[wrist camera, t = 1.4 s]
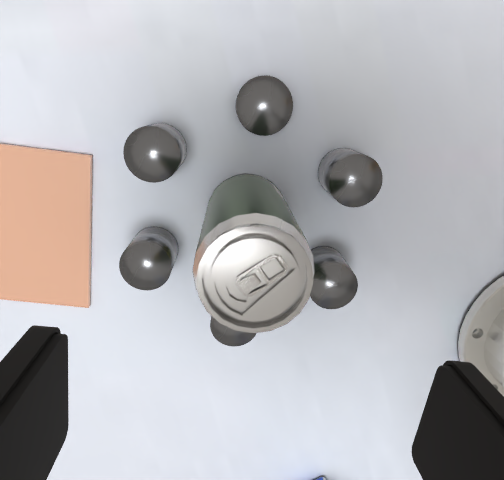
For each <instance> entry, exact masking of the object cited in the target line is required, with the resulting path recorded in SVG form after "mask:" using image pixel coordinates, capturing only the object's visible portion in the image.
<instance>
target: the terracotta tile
mask: <svg viewBox="0 0 504 480" xmlns="http://www.w3.org/2000/svg"><path fill="white" fill-rule="evenodd" d="M92 157H93V155H88V154H80V153H72V152H65V151H57V150H49V149H41V148H33V147H25V146H18V145H10V144H2V143H0V299H4V300H14V301H24V302H34V303H44V304H55V305H65V306H75V307H85V308H89V306H90V292H91V225H92Z"/></svg>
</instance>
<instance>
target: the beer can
mask: <svg viewBox="0 0 504 480" xmlns="http://www.w3.org/2000/svg"><path fill="white" fill-rule="evenodd" d="M193 275H194V281H195V286H196V290H197V291H198V294H199V298H200V300H201V301H202V303H203V305H204V307H205V309H206V310H207V312H208V313H209V314H210V315H211V316H213V317H214V318H215V319H216V320H217V321H218V322H219V323H220V324H223V325H225V326H227V327H229V328H231V329H233V330H236V331H242V332H249V333H258V332H266V331H271V330H274V329H276V328H278V327H281V326H283V325H285V324H287V323H288V322H290V321H291V320H292V319H293V318H294V317H296V316H297V315H298V314H299V313H300V312H301V310H302V309H303V307H304V306H305V304H306V303H307V301H308V300H309V297H310V294H311V290H312V286H313V277H314V262H313V254H312V252H311V250H310V248H309V245H308V243H307V241H306V239H305V237H304V235H303V233H302V231H301V229H300V228H299V226H298V224H297V222H296V220H295V218H294V216H293V215H292V213H291V211H290V209H289V207H288V205H287V203H286V202H285V200H284V198H283V196H282V194H281V192H280V191H279V190H278V189H277V188H276V187H275V185H274V184H273V183H272V182H270V181H268V180H266V179H265V178H263V177H261V176H256V175H251V174H244V175H236V176H234V177H231V178H229V179H227V180H225V181H223V182H222V183H221V184H220V185H219V186H218V187H217V188H216V189H215V190H214V192H213V194H212V196H211V198H210V200H209V202H208V206H207V210H206V214H205V218H204V222H203V226H202V230H201V234H200V238H199V242H198V246H197V250H196V254H195V260H194V266H193Z"/></svg>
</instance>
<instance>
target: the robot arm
mask: <svg viewBox="0 0 504 480" xmlns="http://www.w3.org/2000/svg"><path fill="white" fill-rule="evenodd" d="M458 353H459V359H460V361H446V362H445V363H444V364H443V366H439V367H438V369H437V371H436V374H435V377H434V380H433V383H432V386H431V390H430V393H429V396H428V399H427V402H426V405H425V408H424V411H423V414H422V417H421V420H420V424H419V427H418V430H417V433H416V436H415V439H414V442H413V445H412V457H413V461H414V463H415V465H416V467H417V469H418V471H419V473H420V475H421V476H422V478H423V480H504V276H502V277H501V278H499V279H497V280H496V281H495V282H494V283H492V284H491V285H490V286H489V287H488V288H487V289H485V290H484V291H483V292H482V294H481V295H480V296H479V297H478V298H477V299H476V301H475V302H474V303H473V305H472V306H471V308H470V310H469V311H468V313H467V315H466V316H465V319H464V321H463V324H462V327H461V329H460V335H459V340H458ZM67 431H68V337H67V335H66V334H61V333H60V329H59V328H57V327H45V326H32V327H30V328H29V329H28V331H27V332H26V333H25V334H24V335H23V336H22V338H21V339H20V340H19V341H18V342H17V343H16V345H15V346H14V347H13V348H12V349H11V350H10V351H9V353H8V354H7V355H6V356H5V357H4V358H3V360H2V361H1V362H0V480H46V479H47V477H48V475H49V473H50V471H51V469H52V467H53V465H54V462H55V460H56V458H57V456H58V454H59V452H60V450H61V448H62V446H63V443H64V441H65V439H66V435H67Z"/></svg>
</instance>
